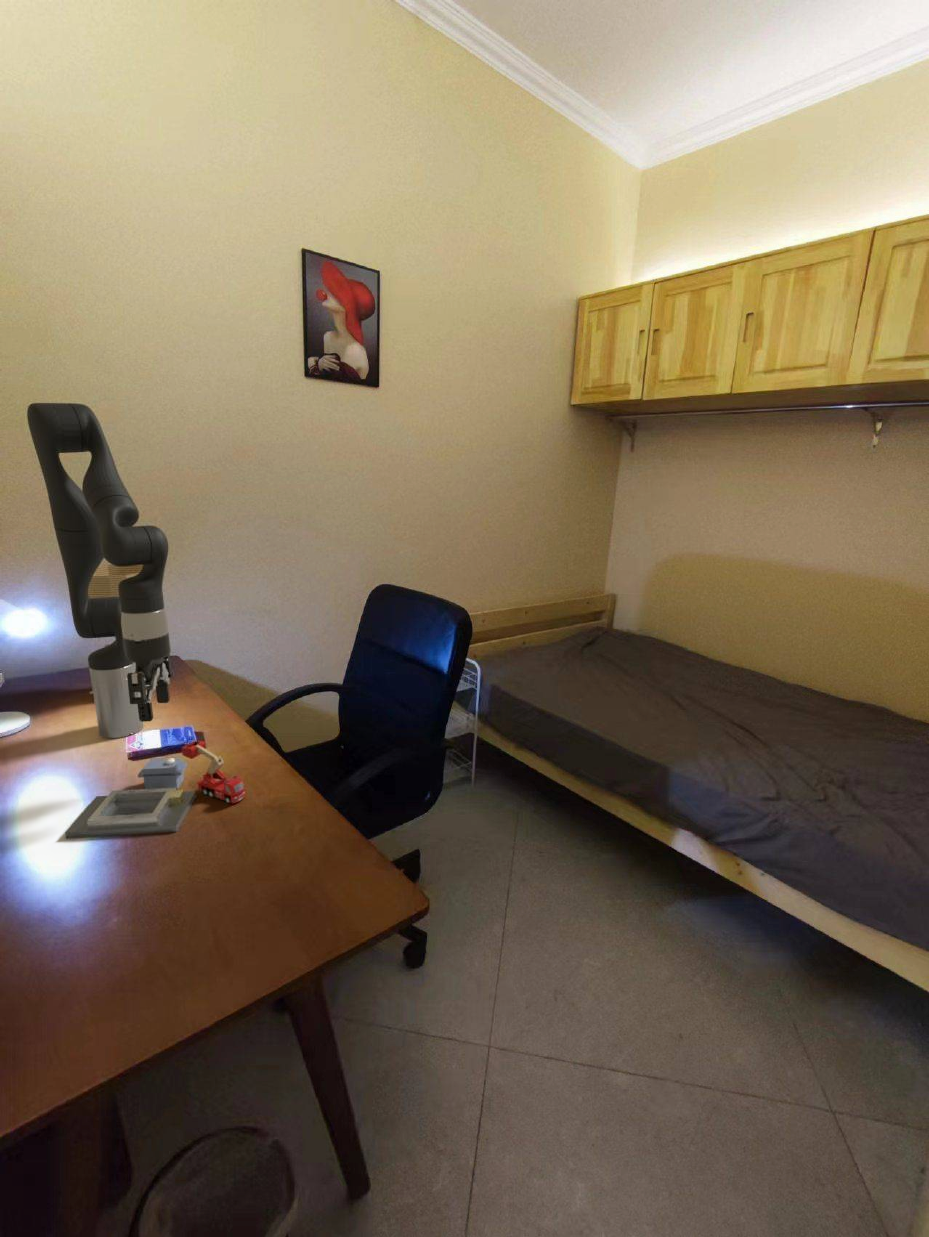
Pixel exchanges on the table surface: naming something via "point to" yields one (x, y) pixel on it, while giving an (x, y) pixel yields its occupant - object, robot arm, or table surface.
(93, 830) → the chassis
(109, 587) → the desk lamp
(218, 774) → the toy fire truck
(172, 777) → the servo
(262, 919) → the table surface
